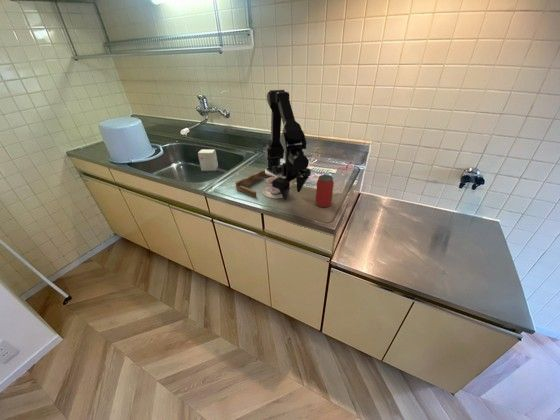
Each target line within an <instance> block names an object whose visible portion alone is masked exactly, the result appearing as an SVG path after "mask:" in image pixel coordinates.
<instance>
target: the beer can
mask: <svg viewBox="0 0 560 420" xmlns="http://www.w3.org/2000/svg"><path fill="white" fill-rule="evenodd" d="M318 176H319V177H318V178H317V180H316V187H315V188H316V190H315V204H316V205H317V206H318V207H320V208H328V207H330V206H331V205H332V201H333V192H334V186H335V185H334V184H335V183H334V177H332V175H328V174H322V175H318Z"/></svg>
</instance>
